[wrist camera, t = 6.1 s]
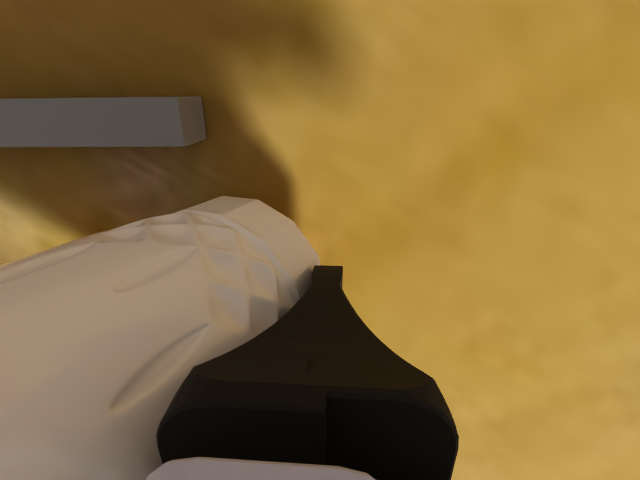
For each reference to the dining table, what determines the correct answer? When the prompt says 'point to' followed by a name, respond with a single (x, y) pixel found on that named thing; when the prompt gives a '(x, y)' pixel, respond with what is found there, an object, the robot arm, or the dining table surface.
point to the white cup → (133, 331)
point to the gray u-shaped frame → (102, 122)
